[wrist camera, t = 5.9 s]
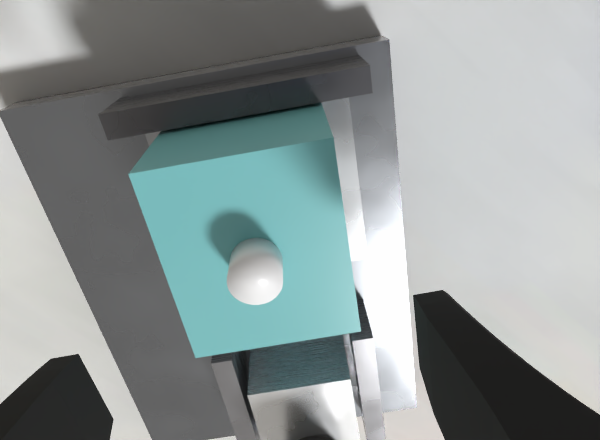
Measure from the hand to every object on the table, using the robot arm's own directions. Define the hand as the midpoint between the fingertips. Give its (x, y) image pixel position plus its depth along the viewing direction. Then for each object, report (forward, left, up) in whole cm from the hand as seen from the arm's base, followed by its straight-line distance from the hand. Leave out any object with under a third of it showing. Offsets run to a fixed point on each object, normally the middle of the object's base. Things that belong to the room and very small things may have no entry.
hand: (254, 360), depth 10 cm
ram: (0, +9, -8) cm, 12 cm away
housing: (0, -1, -8) cm, 8 cm away
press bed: (+1, +3, -9) cm, 10 cm away
